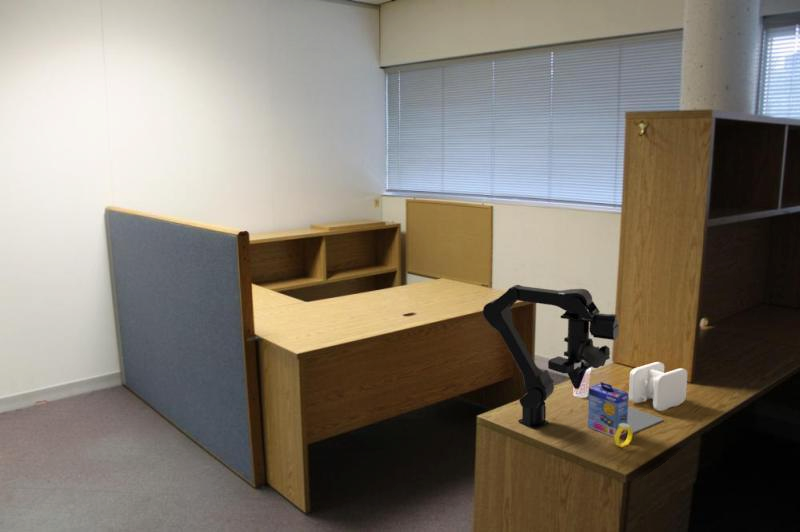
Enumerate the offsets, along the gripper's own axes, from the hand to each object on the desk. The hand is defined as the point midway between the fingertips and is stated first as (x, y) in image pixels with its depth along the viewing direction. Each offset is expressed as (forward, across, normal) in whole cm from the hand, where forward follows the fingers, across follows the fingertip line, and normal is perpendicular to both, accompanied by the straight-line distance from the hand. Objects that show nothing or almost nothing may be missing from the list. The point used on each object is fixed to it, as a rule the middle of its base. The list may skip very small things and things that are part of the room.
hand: (576, 388), depth 188 cm
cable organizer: (+13, +36, -3) cm, 38 cm away
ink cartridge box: (+13, +8, -5) cm, 16 cm away
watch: (+13, +3, -14) cm, 19 cm away
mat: (+13, +19, -5) cm, 24 cm away
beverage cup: (+13, +24, +16) cm, 32 cm away
